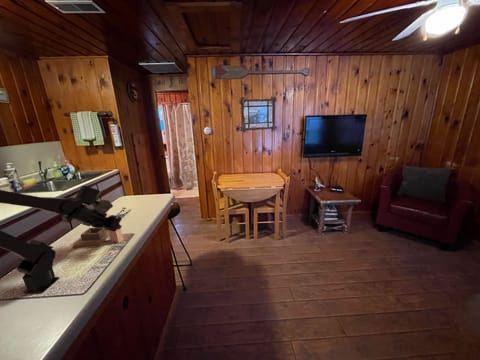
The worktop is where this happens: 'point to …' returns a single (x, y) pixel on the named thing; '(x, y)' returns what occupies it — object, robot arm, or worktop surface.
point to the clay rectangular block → (115, 235)
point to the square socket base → (92, 237)
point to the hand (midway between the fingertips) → (116, 226)
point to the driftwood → (122, 214)
